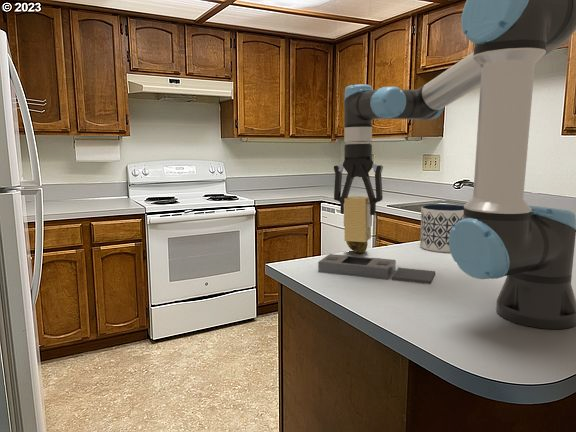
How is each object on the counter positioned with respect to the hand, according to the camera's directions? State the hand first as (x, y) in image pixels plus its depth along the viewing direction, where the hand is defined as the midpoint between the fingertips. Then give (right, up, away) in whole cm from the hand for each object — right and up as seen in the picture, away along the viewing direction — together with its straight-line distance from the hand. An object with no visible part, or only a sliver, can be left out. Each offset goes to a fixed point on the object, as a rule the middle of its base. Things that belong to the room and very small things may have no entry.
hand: (357, 225), depth 127 cm
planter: (+34, -9, +29) cm, 46 cm away
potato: (+3, -10, +24) cm, 26 cm away
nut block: (0, -4, +1) cm, 4 cm away
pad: (+15, -14, -4) cm, 21 cm away
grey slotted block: (0, -13, +2) cm, 13 cm away
